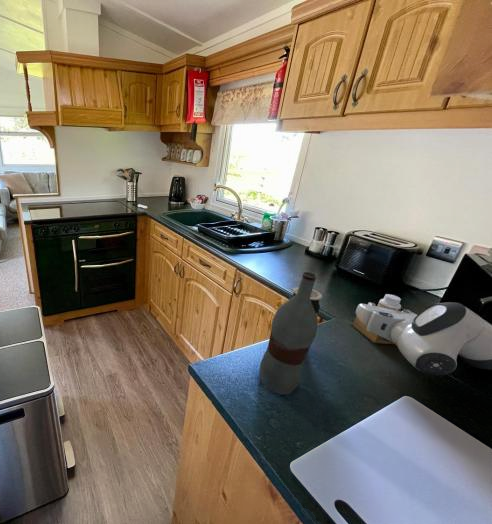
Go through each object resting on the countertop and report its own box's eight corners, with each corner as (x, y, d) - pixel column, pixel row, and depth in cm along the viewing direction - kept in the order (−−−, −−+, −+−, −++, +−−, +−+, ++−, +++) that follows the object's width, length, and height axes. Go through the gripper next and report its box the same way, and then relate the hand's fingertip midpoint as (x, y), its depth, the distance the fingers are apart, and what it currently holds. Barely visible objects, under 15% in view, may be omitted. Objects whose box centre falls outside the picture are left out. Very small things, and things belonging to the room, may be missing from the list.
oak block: (379, 326, 102) (384, 317, 101) (404, 344, 93) (409, 334, 91) (352, 325, 102) (356, 315, 100) (374, 343, 92) (378, 332, 91)
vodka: (249, 371, 76) (277, 266, 65) (279, 367, 78) (311, 265, 67) (272, 399, 68) (308, 284, 57) (304, 394, 70) (345, 283, 59)
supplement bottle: (383, 319, 99) (394, 293, 95) (396, 329, 93) (409, 301, 90) (367, 318, 98) (378, 292, 95) (379, 328, 93) (391, 300, 90)
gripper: (457, 330, 78) (431, 307, 90) (369, 311, 84) (355, 292, 96) (447, 349, 80) (422, 324, 92) (361, 330, 86) (348, 308, 99)
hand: (387, 308), depth 94 cm, fingers open, 8 cm apart
